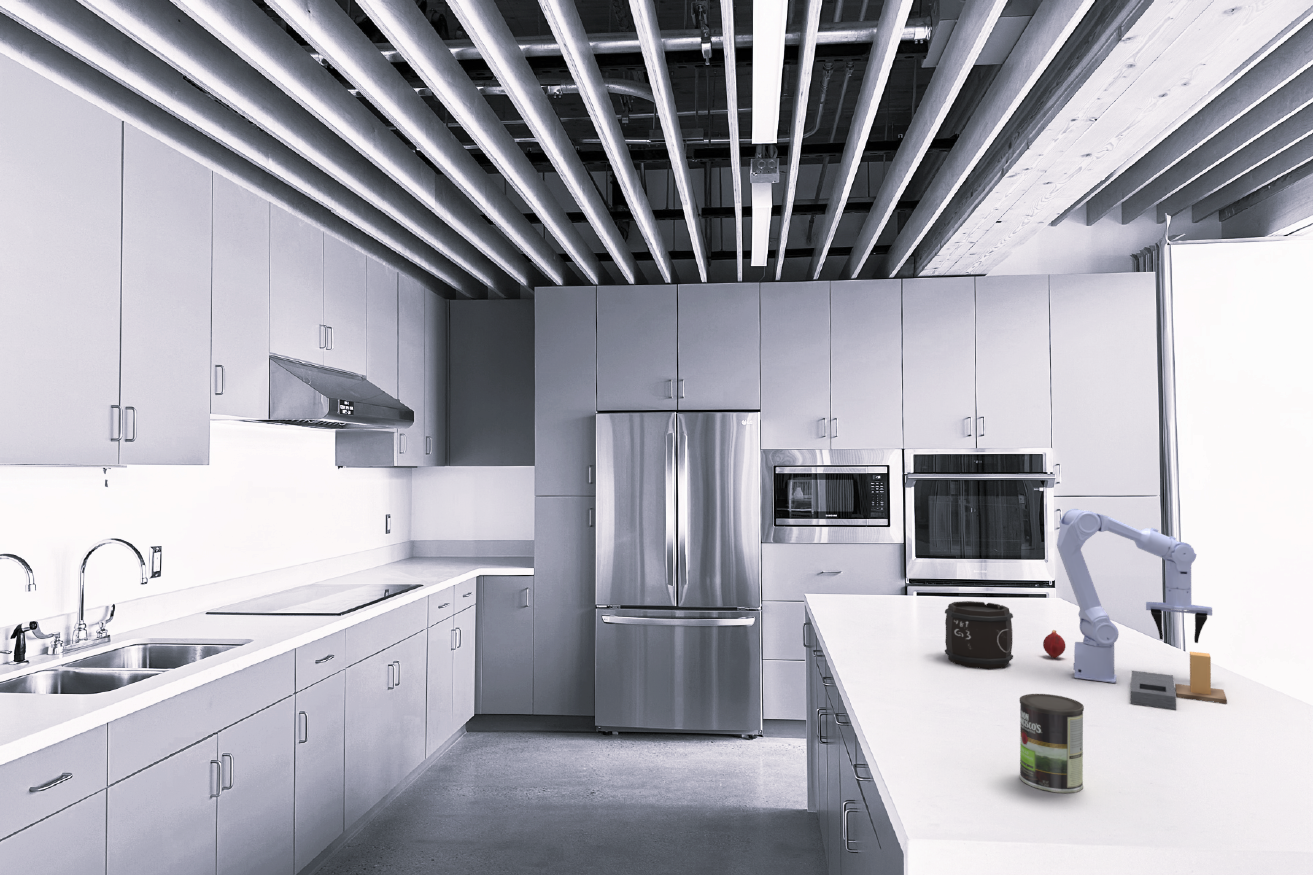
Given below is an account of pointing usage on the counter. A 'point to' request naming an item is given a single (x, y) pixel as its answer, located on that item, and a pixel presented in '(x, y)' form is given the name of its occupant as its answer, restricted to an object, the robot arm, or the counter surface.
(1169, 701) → the grey slotted block
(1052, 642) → the onion
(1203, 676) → the peg
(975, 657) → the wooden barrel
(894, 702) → the counter surface
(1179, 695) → the board
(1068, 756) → the coffee can
